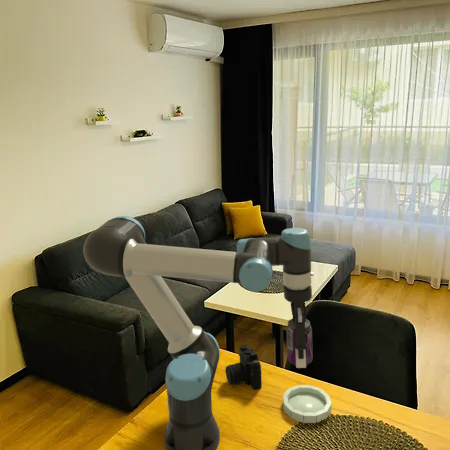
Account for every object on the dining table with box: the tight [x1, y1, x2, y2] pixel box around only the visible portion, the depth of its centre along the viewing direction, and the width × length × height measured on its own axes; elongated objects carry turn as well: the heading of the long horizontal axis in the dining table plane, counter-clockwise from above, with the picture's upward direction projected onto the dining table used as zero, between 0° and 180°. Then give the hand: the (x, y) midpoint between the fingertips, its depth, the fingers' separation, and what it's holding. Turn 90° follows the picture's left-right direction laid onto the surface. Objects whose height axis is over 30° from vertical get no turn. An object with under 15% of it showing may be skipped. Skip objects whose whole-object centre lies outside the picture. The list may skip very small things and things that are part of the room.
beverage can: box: [285, 318, 314, 366], centre depth 123 cm, size 7×7×12 cm
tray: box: [282, 384, 332, 424], centre depth 131 cm, size 14×14×2 cm
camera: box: [224, 344, 263, 391], centre depth 144 cm, size 14×11×10 cm
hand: (299, 359), depth 124 cm, fingers closed on beverage can, 7 cm apart
